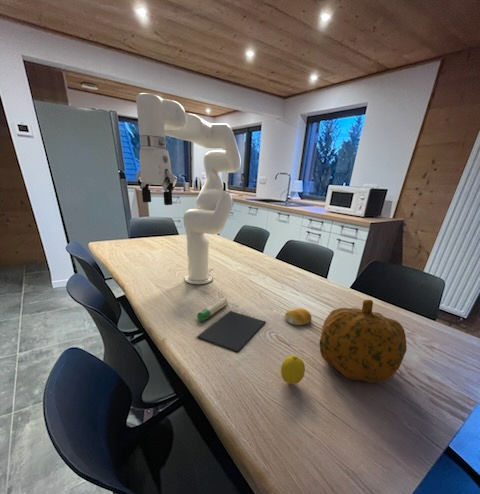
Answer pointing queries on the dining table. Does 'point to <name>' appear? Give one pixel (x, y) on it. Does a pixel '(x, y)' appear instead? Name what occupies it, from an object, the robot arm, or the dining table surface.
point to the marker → (211, 309)
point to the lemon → (292, 369)
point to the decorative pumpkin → (363, 343)
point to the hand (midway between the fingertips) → (157, 203)
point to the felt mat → (232, 331)
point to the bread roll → (298, 316)
